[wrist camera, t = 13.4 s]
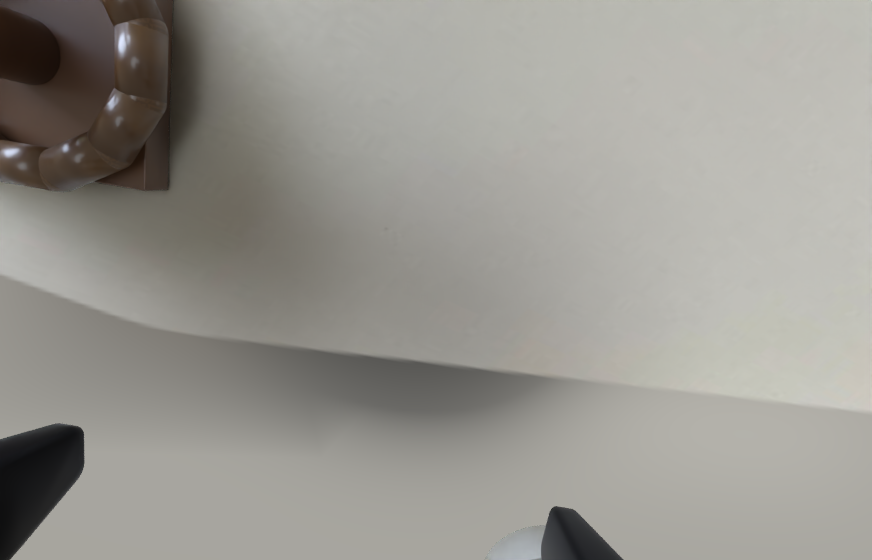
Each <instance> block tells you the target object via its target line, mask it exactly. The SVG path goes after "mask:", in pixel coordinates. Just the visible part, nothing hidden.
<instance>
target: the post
mask: <svg viewBox="0 0 872 560" xmlns="http://www.w3.org/2000/svg"><path fill="white" fill-rule="evenodd" d="M155 2H156V4H157V7H158V9H159V11H160V13H161V15H162V17H163V20H164V22H165V24H166V27H167V29H168V34H169V46H168V85H167V108H166V110H165V112H164V114H163V116H162V117H161V119H160V120H159V122H158V124H157V125H156V127H155V128H154V130H153V132H152V133H151V135H150V136H149V138H148V139H147V141H146V143H145V144H144V146H143V147H142V149H141V150H140V152H139V154H138V155H137V157H136V158H135V160H134V161H133V163H132V164H131V165H130V166H129V167H127V168H125V169H123V170H120V171H118V172H116V173H113V174H111V175H108V176H106V177H104V178H101V179H99V180H96V181H94V182H97V183H103V184H108V185H114V186H120V187H126V188H131V189H137V190H143V191H153V190H168V168H169V133H170V97H171V62H172V26H173V0H155ZM113 89H114V26H113V24H112V22H111V20H110V18H109V16H108V14H107V12H106V10H105V8H104V6H103V4H102V2H101V0H0V134H1V135H2V136H3V137H5V138H6V139H7V140H9V141H13V142H19V143H25V144H30V145H36V146H42V147H48V148H50V147H53V146H55V145H57V144H60V143H62V142H64V141H67V140H69V139H71V138H74V137H76V136H78V135H81V134H83V133H85V132H87V131H89V129H90V128H91V126H92V124H93V123H94V121H95V119H96V118H97V116H98V114H99V113H100V111H101V109H102V108H103V106H104V104H105V103H106V101H107V99H108V98H109V96H110V94H111V93H112V91H113Z"/></svg>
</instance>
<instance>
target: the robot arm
mask: <svg viewBox="0 0 872 560" xmlns="http://www.w3.org/2000/svg"><path fill="white" fill-rule="evenodd" d="M83 467H84V432H83V430H82V429H81V428H80V427H78V426H73V425H67V424H60V423H59V424H53V425H49V426H45V427H42V428H38V429H35V430H32V431H28V432H24V433H21V434H17V435H14V436H10V437H7V438H3V439H0V560H10V559H11V558H12V557H13V555H14V554H15V553H16V552H17V551H18V550H19V549H20V548H21V546H22V545H23V544H24V543H25V542H26V541H27V539H28V538H29V537H30V536H31V535H32V533H33V532H34V531H35V530H36V529H37V527H38V526H39V525H40V524H41V523H42V521H43V520H44V519H45V518H46V517H47V515H48V514H49V513H50V512H51V511H52V509H53V508H54V507H55V506H56V505H57V503H58V502H59V501H60V500H61V499H62V497H63V496H64V495H65V494H66V493H67V491H68V490H69V489H70V488H71V487H72V485H73V484H74V483H75V482H76V480H77V479H78V478H79V477H80V475H81V473H82V470H83ZM541 559H542V560H623V559H622V558H621V557H620V556H619V555H618V554H617V553H616V552H615V551H614V550H613V549H612V548H611V547H610V546H609V545H608V544H607V542H605V540H603V538H602V537H601V536H599V534H598V533H597V532H596V531H595V530H594V529H593V528H592V527H591V526H590V525H589V524H588V523H587V522H586V521H585V520H584V519H583V518H582V517H581V516H580V515H579V514H578V513H577V512H576V511H575V510H573V509H569V508H563V507H557V506H556V507H553V508H552V509H551V511H550V513H549V517H548V521H547V524H546V528H545V531H544V535H543V539H542V543H541Z"/></svg>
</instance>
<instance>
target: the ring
mask: <svg viewBox="0 0 872 560" xmlns="http://www.w3.org/2000/svg"><path fill="white" fill-rule="evenodd" d="M101 2H102V4H103V6H104V8H105V10H106V12H107V14H108V16H109V18H110V20H111V22H112V24H113V26H114V89H113V91H112V93H111V94H110V96H109V98H108V99H107V101H106V103H105V104H104V106H103V108H102V109H101V111H100V113H99V114H98V116H97V118H96V119H95V121H94V123H93V124H92V126H91V128H90V129H89V131H87V132H85V133H83V134H81V135H78V136H76V137H74V138H71V139H69V140H67V141H64V142H62V143H60V144H57V145H55V146H53V147H50V148H48V147H42V146H36V145H30V144H25V143H19V142H13V141H9V140H7V139H6V138H5V137H3V136H2V135H1V134H0V182H4V183H9V184H15V185H21V186H27V187H33V188H38V189H44V190H50V191H56V192H68V191H72V190H75V189H77V188H80V187H82V186H84V185H87V184H89V183H92V182H94V181H96V180H99V179H101V178H104V177H106V176H108V175H111V174H113V173H116V172H118V171H120V170H123V169H125V168H127V167H129V166H130V165H131V164H132V163H133V161H134V160H135V158H136V157H137V155H138V154H139V152H140V150H141V149H142V147H143V146H144V144H145V143H146V141H147V139H148V138H149V136H150V135H151V133H152V132H153V130H154V128H155V127H156V125H157V124H158V122H159V120H160V119H161V117H162V116H163V114H164V112H165V110H166V108H167V85H168V46H169V34H168V29H167V27H166V24H165V22H164V20H163V17H162V15H161V13H160V11H159V9H158V7H157V4H156V2H155V0H101Z"/></svg>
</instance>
